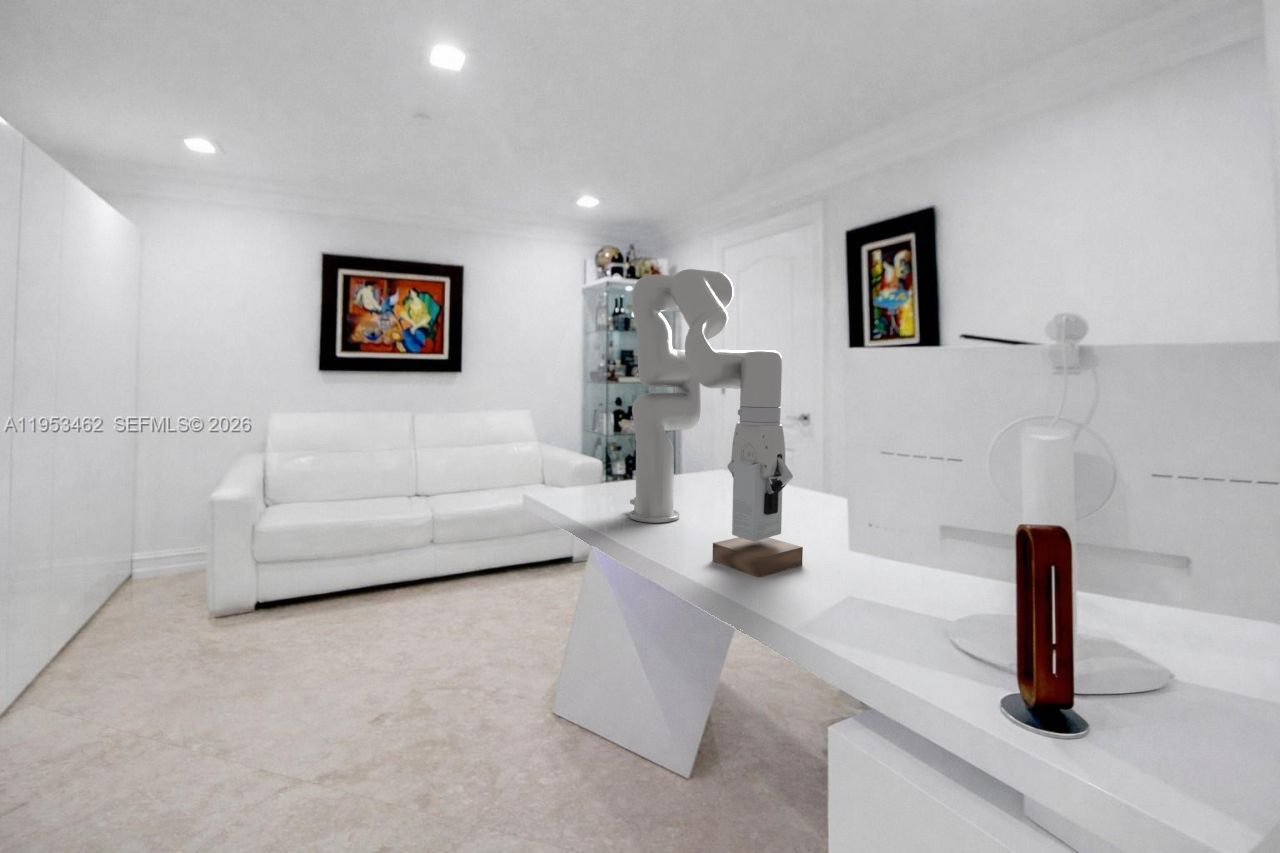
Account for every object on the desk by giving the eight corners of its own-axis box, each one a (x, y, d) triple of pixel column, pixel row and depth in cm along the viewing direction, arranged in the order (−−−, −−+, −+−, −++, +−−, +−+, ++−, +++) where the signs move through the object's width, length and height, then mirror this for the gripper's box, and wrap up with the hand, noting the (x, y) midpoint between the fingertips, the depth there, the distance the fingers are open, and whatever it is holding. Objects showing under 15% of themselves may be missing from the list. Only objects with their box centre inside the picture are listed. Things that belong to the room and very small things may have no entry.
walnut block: (712, 560, 117) (712, 542, 117) (755, 550, 124) (755, 533, 124) (759, 577, 108) (759, 557, 107) (802, 565, 115) (802, 547, 114)
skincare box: (758, 529, 121) (760, 455, 119) (783, 535, 116) (785, 458, 115) (730, 535, 115) (731, 458, 114) (754, 542, 111) (756, 462, 110)
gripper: (713, 414, 118) (711, 504, 120) (782, 420, 105) (779, 522, 106) (740, 413, 123) (738, 500, 124) (810, 418, 109) (806, 516, 111)
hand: (757, 509), depth 115 cm, fingers closed on skincare box, 6 cm apart
